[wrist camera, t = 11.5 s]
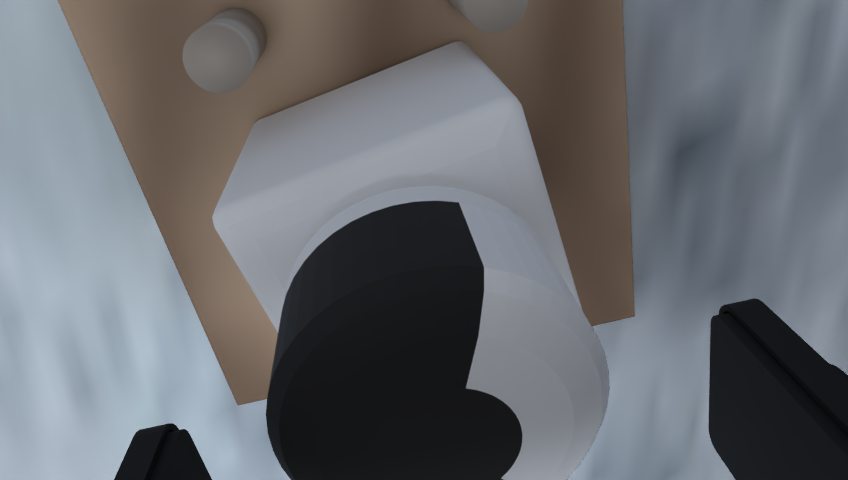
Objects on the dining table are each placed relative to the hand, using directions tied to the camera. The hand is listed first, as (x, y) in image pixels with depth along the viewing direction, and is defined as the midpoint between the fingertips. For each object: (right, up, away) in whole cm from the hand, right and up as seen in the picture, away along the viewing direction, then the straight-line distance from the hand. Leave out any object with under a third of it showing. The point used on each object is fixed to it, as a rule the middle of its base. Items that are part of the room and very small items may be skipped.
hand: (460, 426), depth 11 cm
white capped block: (-2, +5, +10) cm, 12 cm away
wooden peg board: (-2, +6, +11) cm, 12 cm away
